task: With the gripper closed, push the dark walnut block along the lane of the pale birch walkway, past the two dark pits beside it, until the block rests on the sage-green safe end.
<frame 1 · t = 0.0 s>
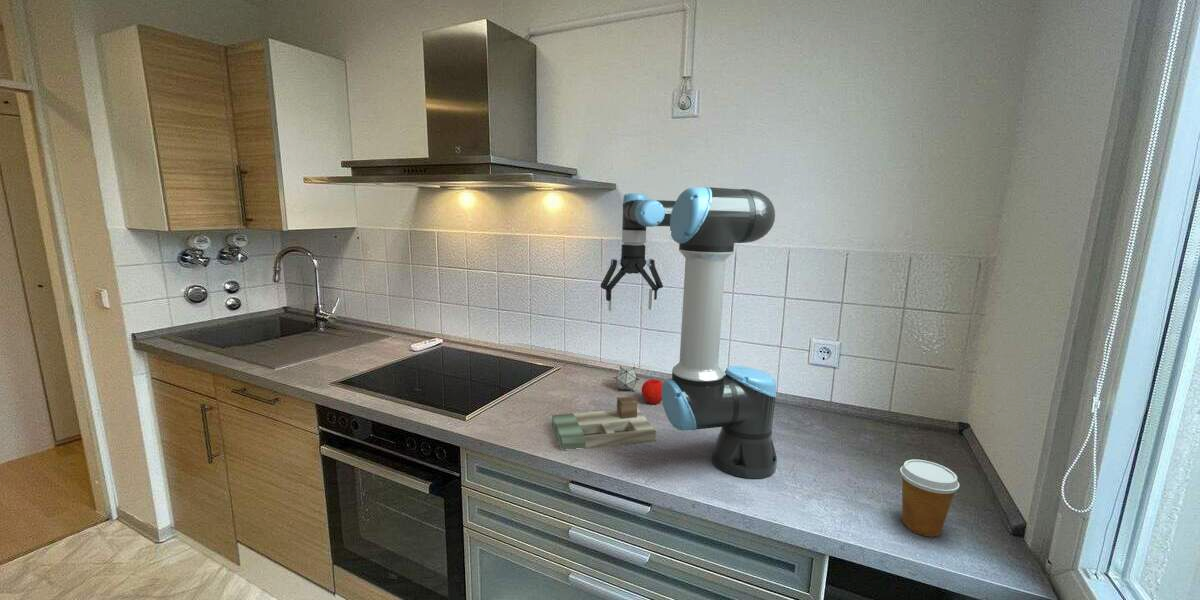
hand: (631, 310, 157), 28 cm above the worktop, tool pointing down, fingers open, 13 cm apart
apple: (652, 402, 155), on the worktop
disposable coffee cup: (920, 527, 96), on the worktop
game die: (626, 390, 165), on the worktop
block: (626, 414, 137), point 3 cm above the worktop, touching walkway
walkway: (602, 432, 132), on the worktop
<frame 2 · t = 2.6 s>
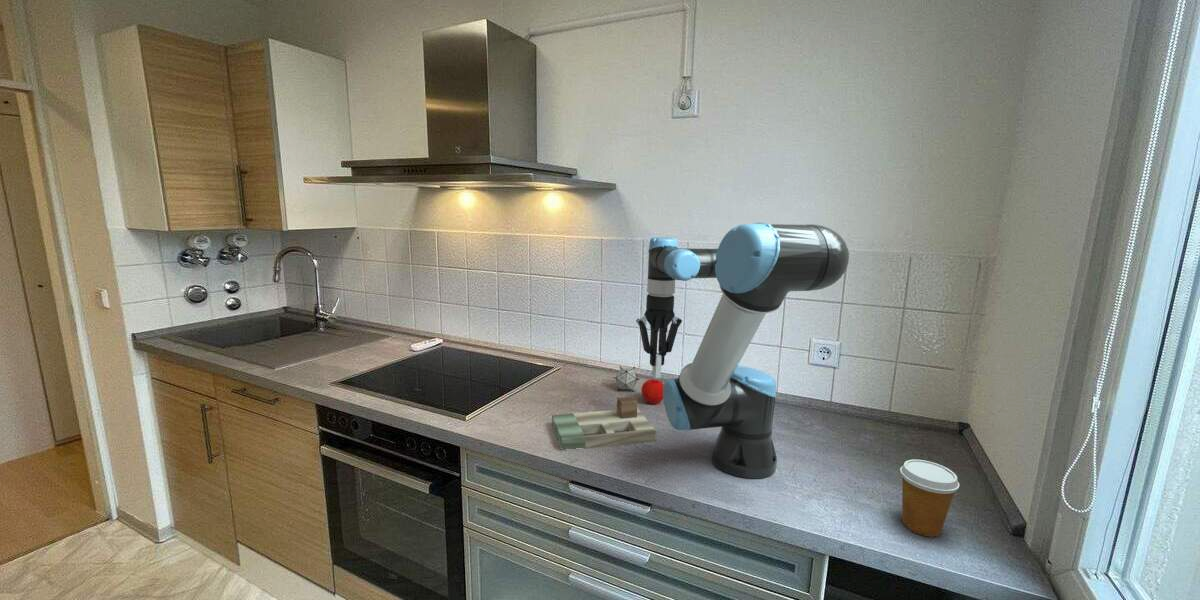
hand: (656, 376, 138), 14 cm above the worktop, tool pointing down, fingers closed
nothing on the worktop moved.
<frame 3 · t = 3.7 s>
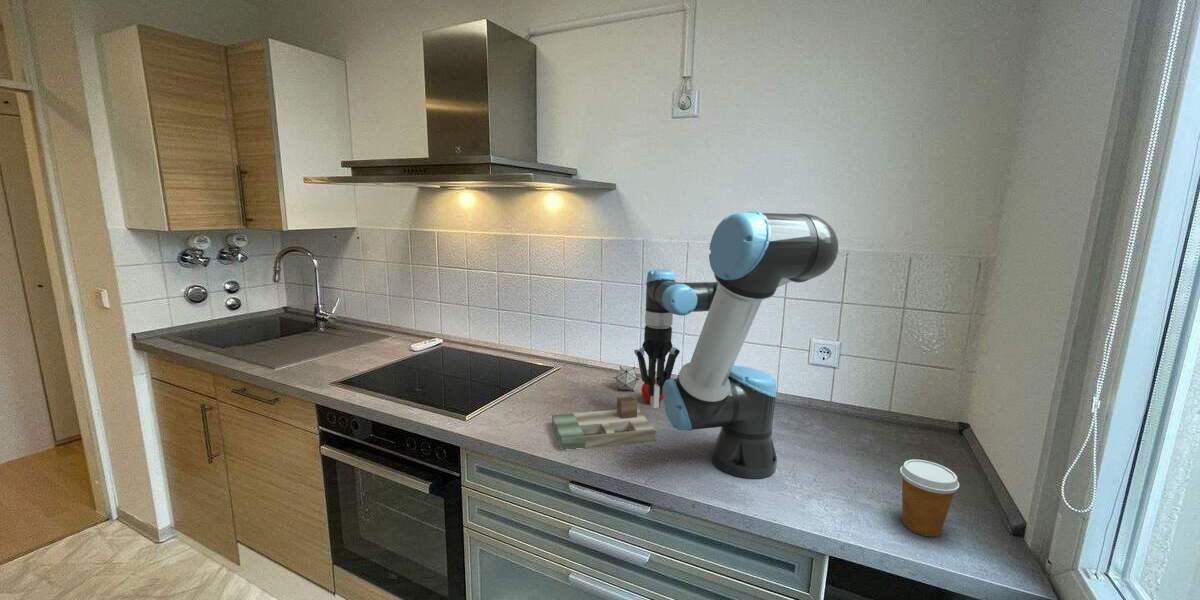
hand: (654, 405, 139), 5 cm above the worktop, tool pointing down, fingers closed
nothing on the worktop moved.
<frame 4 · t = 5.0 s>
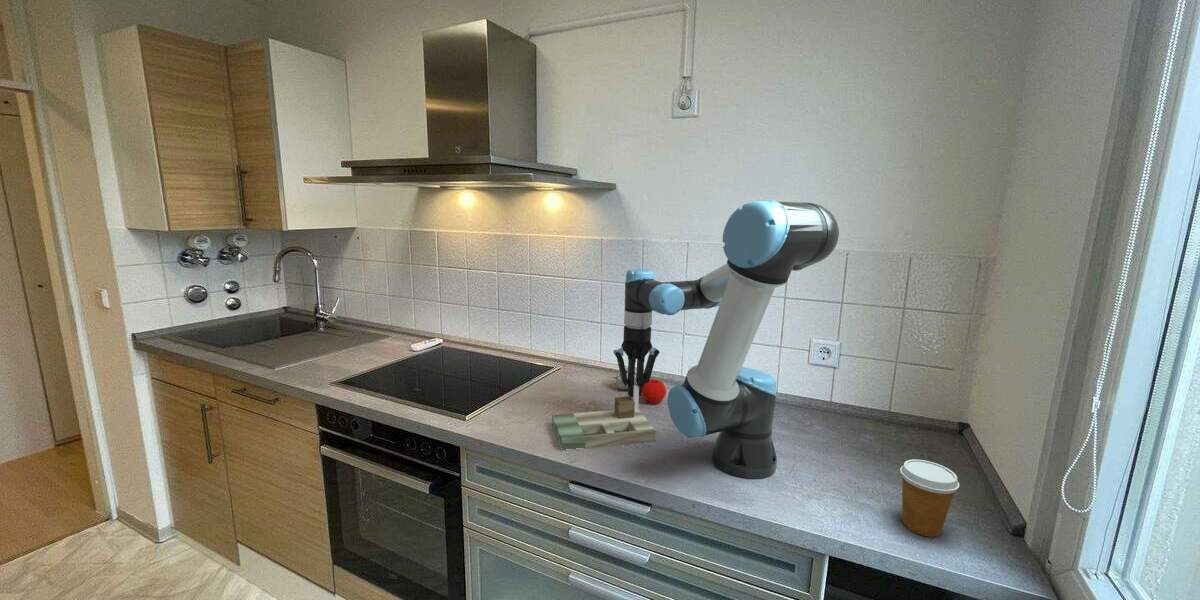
hand: (634, 406, 138), 5 cm above the worktop, tool pointing down, fingers closed
block: (624, 414, 137), point 3 cm above the worktop, touching gripper
everything else where it was.
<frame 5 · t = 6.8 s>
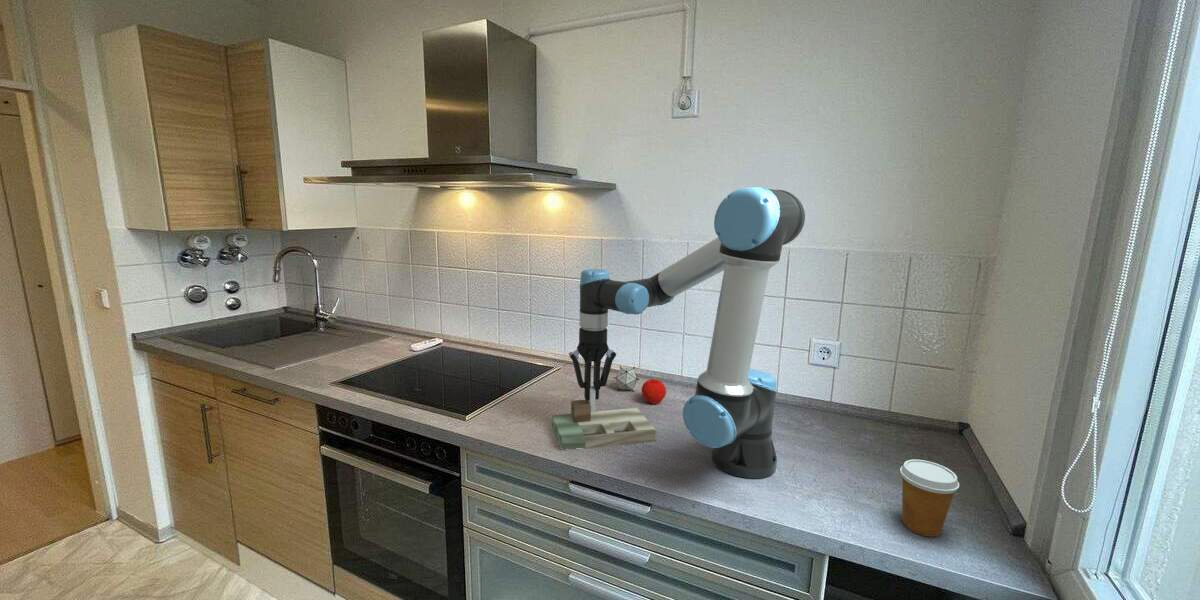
hand: (591, 410, 134), 5 cm above the worktop, tool pointing down, fingers closed
block: (580, 418, 134), point 3 cm above the worktop, touching gripper, walkway
everything else where it was.
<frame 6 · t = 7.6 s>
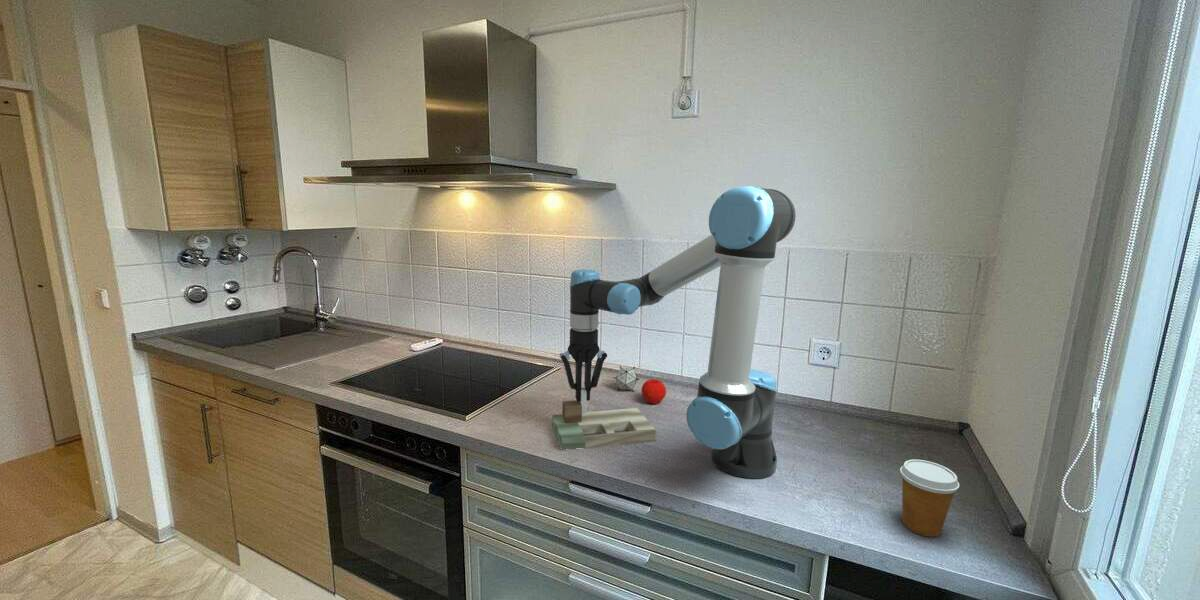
hand: (582, 411, 134), 5 cm above the worktop, tool pointing down, fingers closed
block: (571, 419, 133), point 3 cm above the worktop, touching gripper, walkway
everything else where it was.
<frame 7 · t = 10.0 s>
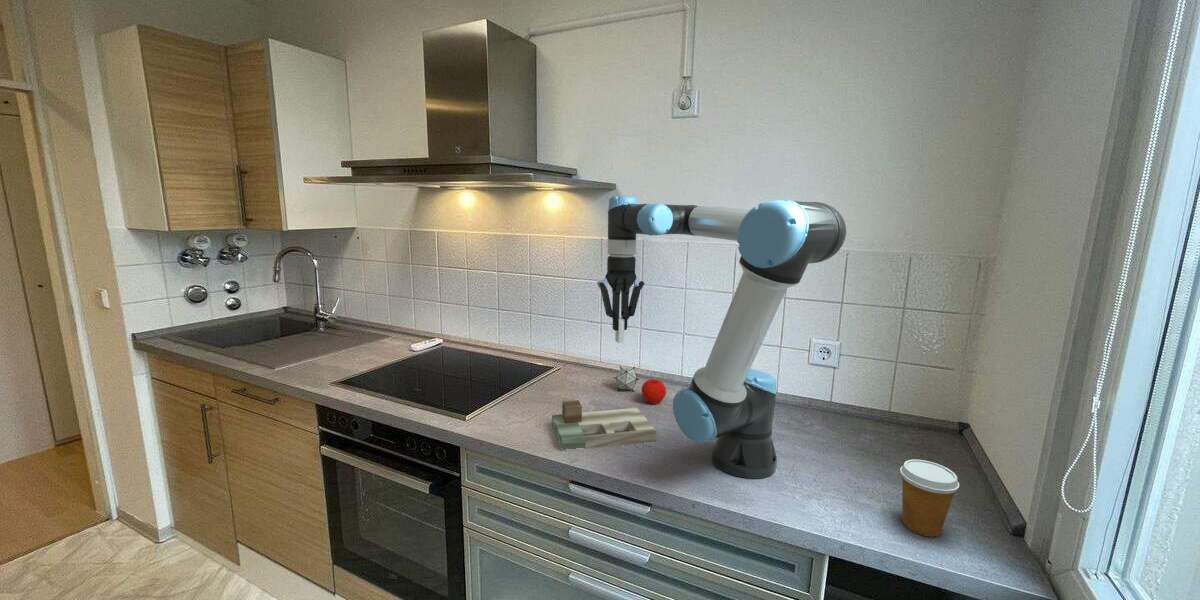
hand: (619, 341, 134), 24 cm above the worktop, tool pointing down, fingers closed
block: (571, 419, 133), point 3 cm above the worktop, touching walkway
everything else where it was.
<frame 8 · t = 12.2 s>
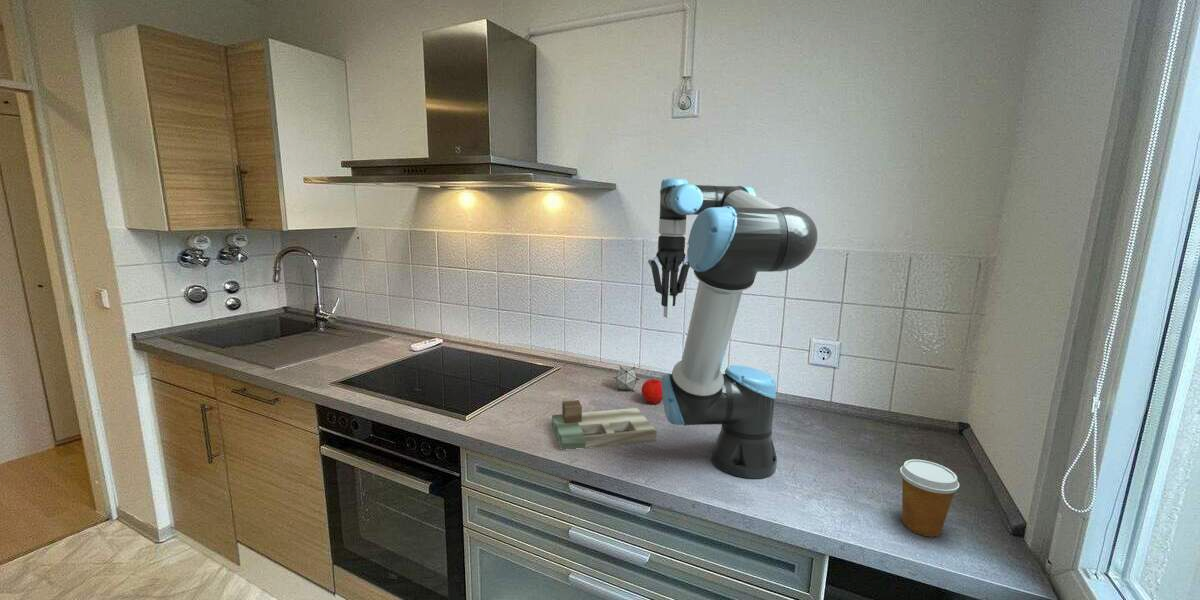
hand: (667, 317, 142), 29 cm above the worktop, tool pointing down, fingers closed
nothing on the worktop moved.
at the end: block 1.3 cm from the target spot on the walkway, point 3.0 cm above the walkway's base; block tilted 0° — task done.
